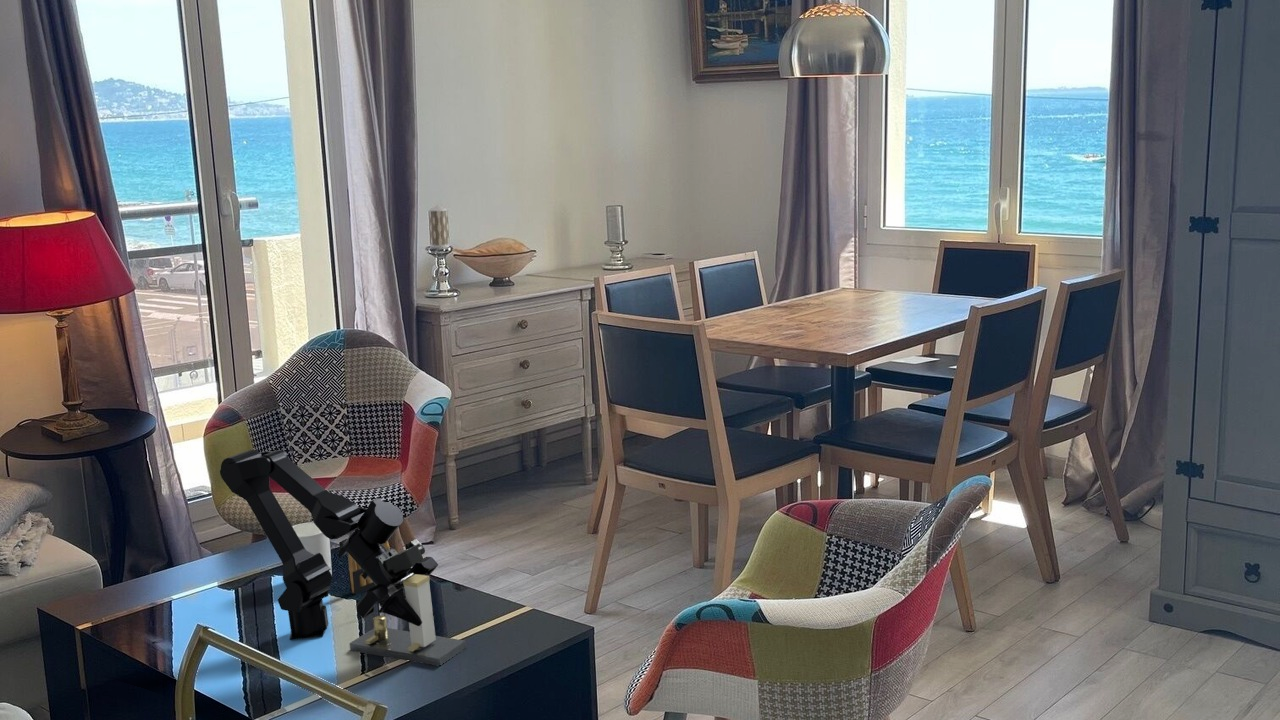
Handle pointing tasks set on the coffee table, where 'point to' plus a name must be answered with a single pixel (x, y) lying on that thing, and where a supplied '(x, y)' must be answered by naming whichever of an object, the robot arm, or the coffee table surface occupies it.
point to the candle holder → (314, 540)
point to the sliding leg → (420, 610)
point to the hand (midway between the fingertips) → (427, 620)
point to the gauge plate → (404, 645)
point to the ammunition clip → (359, 576)
